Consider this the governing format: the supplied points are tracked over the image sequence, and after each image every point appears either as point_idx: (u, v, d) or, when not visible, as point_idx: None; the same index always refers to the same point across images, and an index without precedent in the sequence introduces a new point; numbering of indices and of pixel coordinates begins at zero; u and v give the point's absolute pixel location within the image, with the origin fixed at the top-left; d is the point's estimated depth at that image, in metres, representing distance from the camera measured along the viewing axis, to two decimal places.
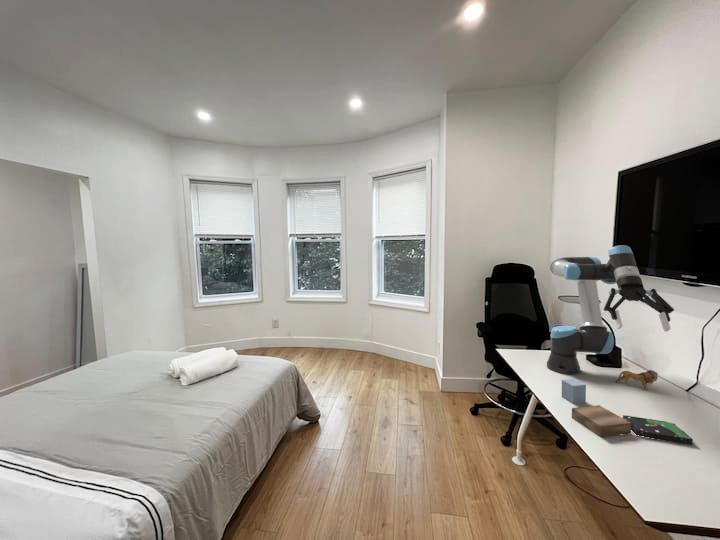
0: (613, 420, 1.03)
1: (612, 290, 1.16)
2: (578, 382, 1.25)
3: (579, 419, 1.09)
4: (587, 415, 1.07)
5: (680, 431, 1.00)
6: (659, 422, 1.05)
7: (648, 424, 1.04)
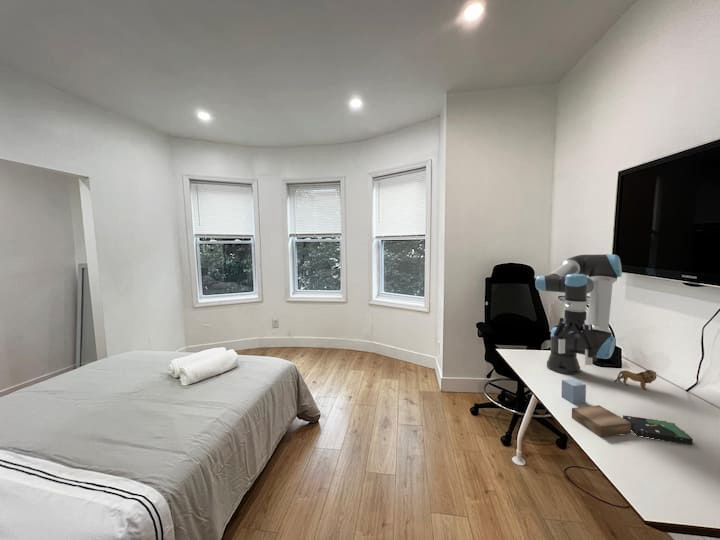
0: (613, 420, 1.03)
1: (560, 320, 1.30)
2: (578, 382, 1.25)
3: (579, 419, 1.09)
4: (587, 415, 1.07)
5: (680, 431, 1.00)
6: (659, 422, 1.05)
7: (648, 424, 1.04)
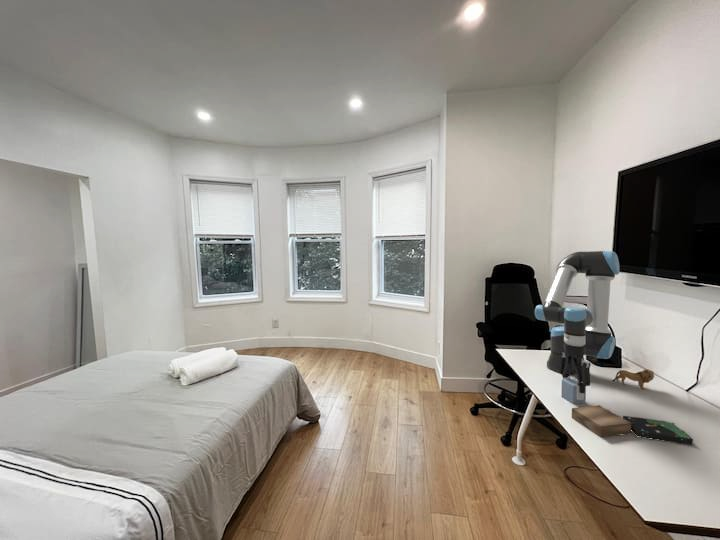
0: (613, 420, 1.03)
1: (559, 355, 1.31)
2: None
3: (579, 419, 1.09)
4: (587, 415, 1.07)
5: (680, 431, 1.00)
6: (659, 422, 1.05)
7: (648, 424, 1.04)
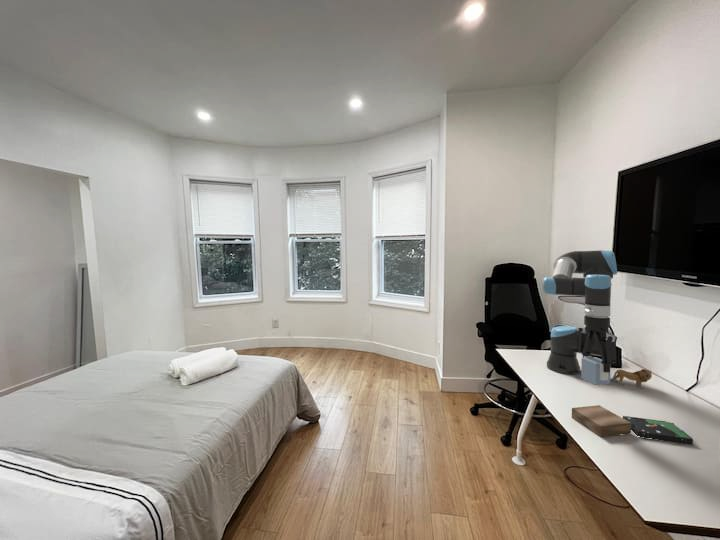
0: (613, 420, 1.03)
1: (579, 330, 1.14)
2: (601, 360, 1.08)
3: (579, 419, 1.09)
4: (587, 415, 1.07)
5: (680, 431, 1.00)
6: (658, 422, 1.05)
7: (648, 424, 1.04)
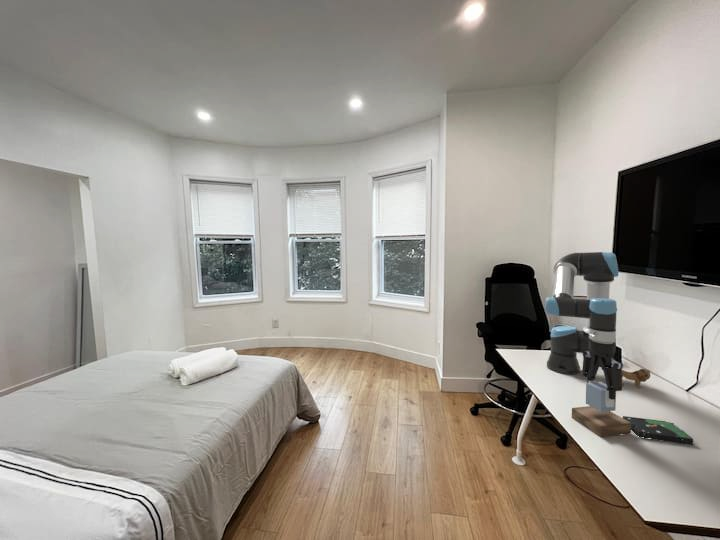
0: (613, 420, 1.03)
1: (583, 354, 1.12)
2: (606, 386, 1.06)
3: (579, 419, 1.09)
4: (587, 415, 1.07)
5: (680, 431, 1.00)
6: (658, 422, 1.05)
7: (648, 425, 1.04)
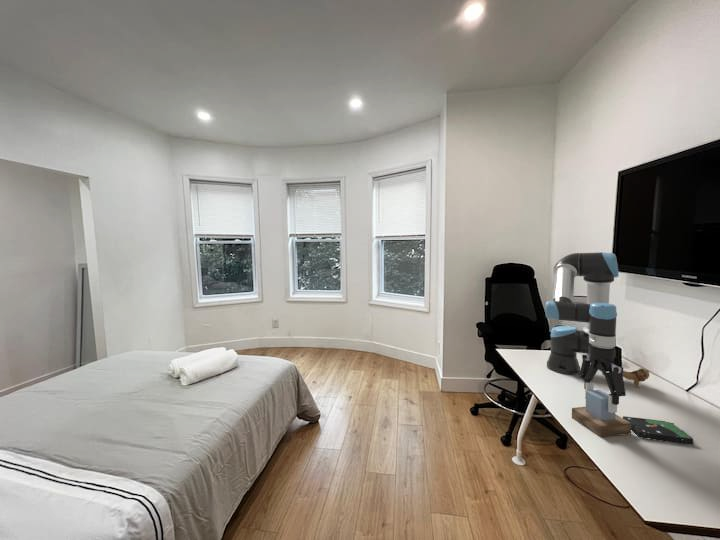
0: (613, 420, 1.03)
1: (583, 357, 1.12)
2: (606, 394, 1.06)
3: (579, 419, 1.09)
4: (587, 415, 1.07)
5: (680, 431, 1.00)
6: (658, 422, 1.05)
7: (648, 425, 1.04)
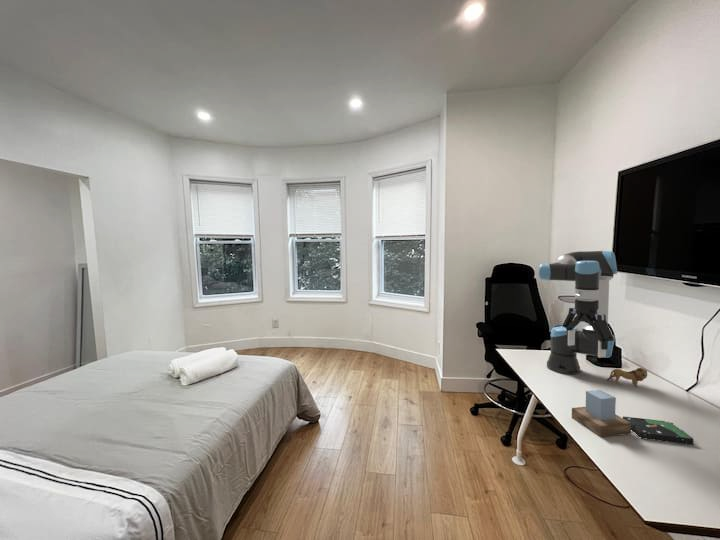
0: (613, 420, 1.03)
1: (569, 310, 1.22)
2: (606, 394, 1.06)
3: (579, 419, 1.09)
4: (587, 415, 1.07)
5: (680, 431, 1.00)
6: (658, 422, 1.05)
7: (648, 425, 1.04)
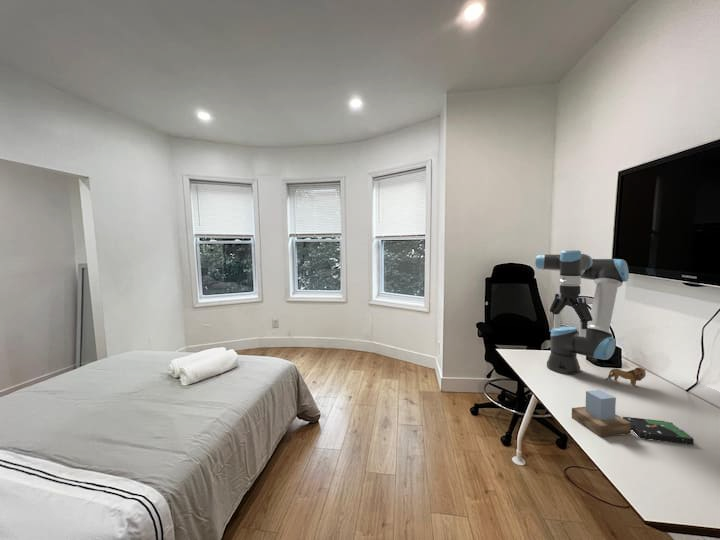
0: (613, 420, 1.03)
1: (555, 296, 1.35)
2: (606, 394, 1.06)
3: (579, 419, 1.09)
4: (587, 415, 1.07)
5: (680, 431, 1.00)
6: (658, 422, 1.05)
7: (649, 425, 1.03)
